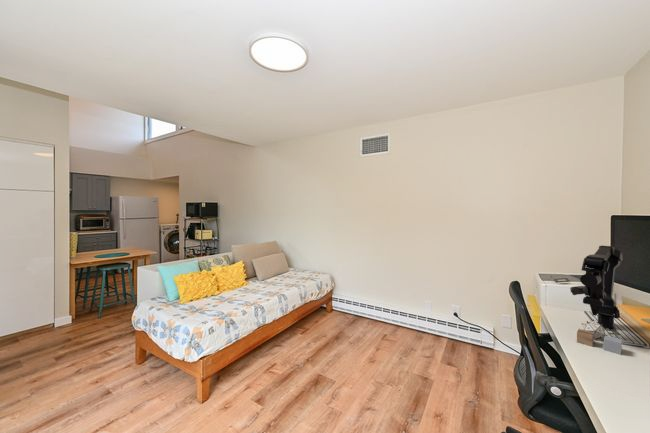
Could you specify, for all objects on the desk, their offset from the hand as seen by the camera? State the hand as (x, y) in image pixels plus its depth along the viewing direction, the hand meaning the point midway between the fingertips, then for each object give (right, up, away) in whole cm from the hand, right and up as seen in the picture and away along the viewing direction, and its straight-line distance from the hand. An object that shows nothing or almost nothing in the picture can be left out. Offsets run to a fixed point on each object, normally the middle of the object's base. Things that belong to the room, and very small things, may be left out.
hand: (594, 315), depth 124 cm
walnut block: (-8, -11, -4) cm, 14 cm away
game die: (0, -11, 0) cm, 11 cm away
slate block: (-3, -12, -10) cm, 16 cm away
